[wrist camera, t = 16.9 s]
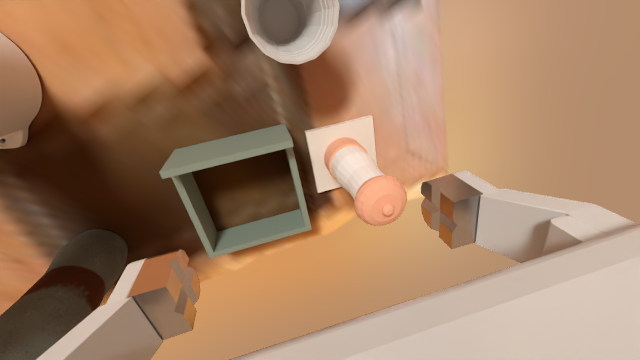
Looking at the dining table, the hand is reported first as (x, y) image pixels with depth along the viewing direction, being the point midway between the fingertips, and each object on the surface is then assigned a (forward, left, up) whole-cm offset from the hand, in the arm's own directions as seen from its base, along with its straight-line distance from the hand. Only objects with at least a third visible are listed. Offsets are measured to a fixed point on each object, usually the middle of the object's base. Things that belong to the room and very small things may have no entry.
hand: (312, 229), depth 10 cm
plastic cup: (+5, +8, -39) cm, 40 cm away
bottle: (-34, -21, -39) cm, 56 cm away
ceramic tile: (+11, -15, -39) cm, 43 cm away
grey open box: (-7, -16, -39) cm, 43 cm away
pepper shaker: (+11, -15, -38) cm, 42 cm away
